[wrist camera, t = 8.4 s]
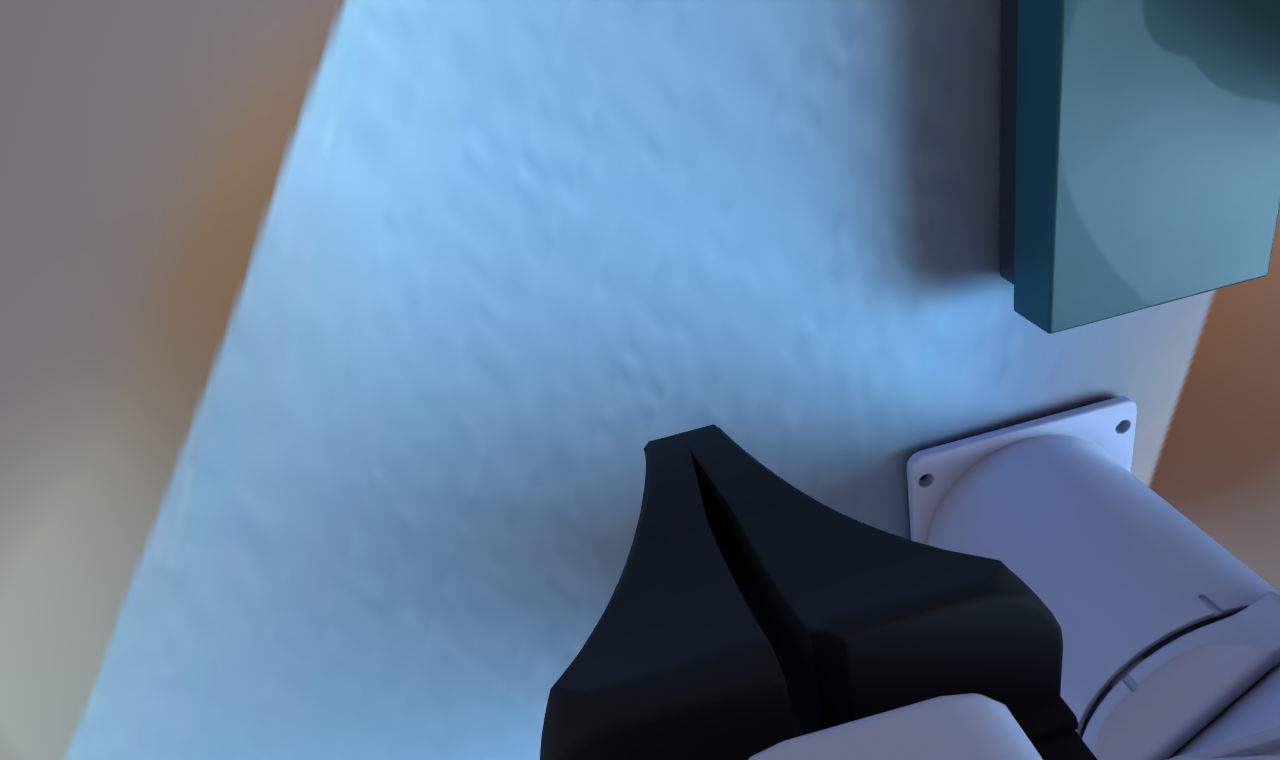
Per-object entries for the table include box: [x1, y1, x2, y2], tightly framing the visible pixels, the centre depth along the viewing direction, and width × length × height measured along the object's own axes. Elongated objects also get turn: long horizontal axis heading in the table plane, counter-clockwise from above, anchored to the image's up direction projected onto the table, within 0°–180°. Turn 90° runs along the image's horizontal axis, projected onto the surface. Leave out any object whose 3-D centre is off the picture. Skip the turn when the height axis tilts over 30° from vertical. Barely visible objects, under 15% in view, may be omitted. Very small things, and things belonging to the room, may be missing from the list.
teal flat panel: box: [1000, 0, 1280, 334], centre depth 21 cm, size 12×6×3 cm, turn 12°
